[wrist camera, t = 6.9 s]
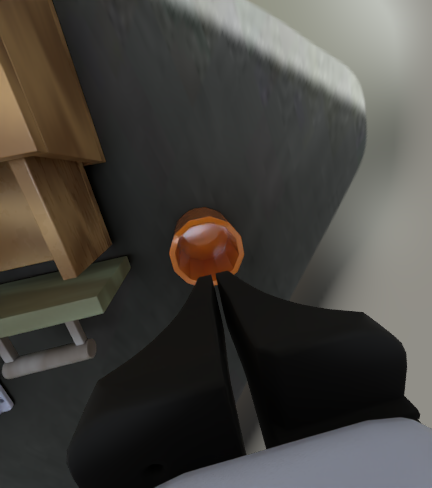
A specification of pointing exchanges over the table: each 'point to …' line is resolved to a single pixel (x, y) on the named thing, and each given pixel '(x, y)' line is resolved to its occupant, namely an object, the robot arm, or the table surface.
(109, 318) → the table surface
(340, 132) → the table surface
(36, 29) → the cabinet
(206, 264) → the orange cup
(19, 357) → the drawer
